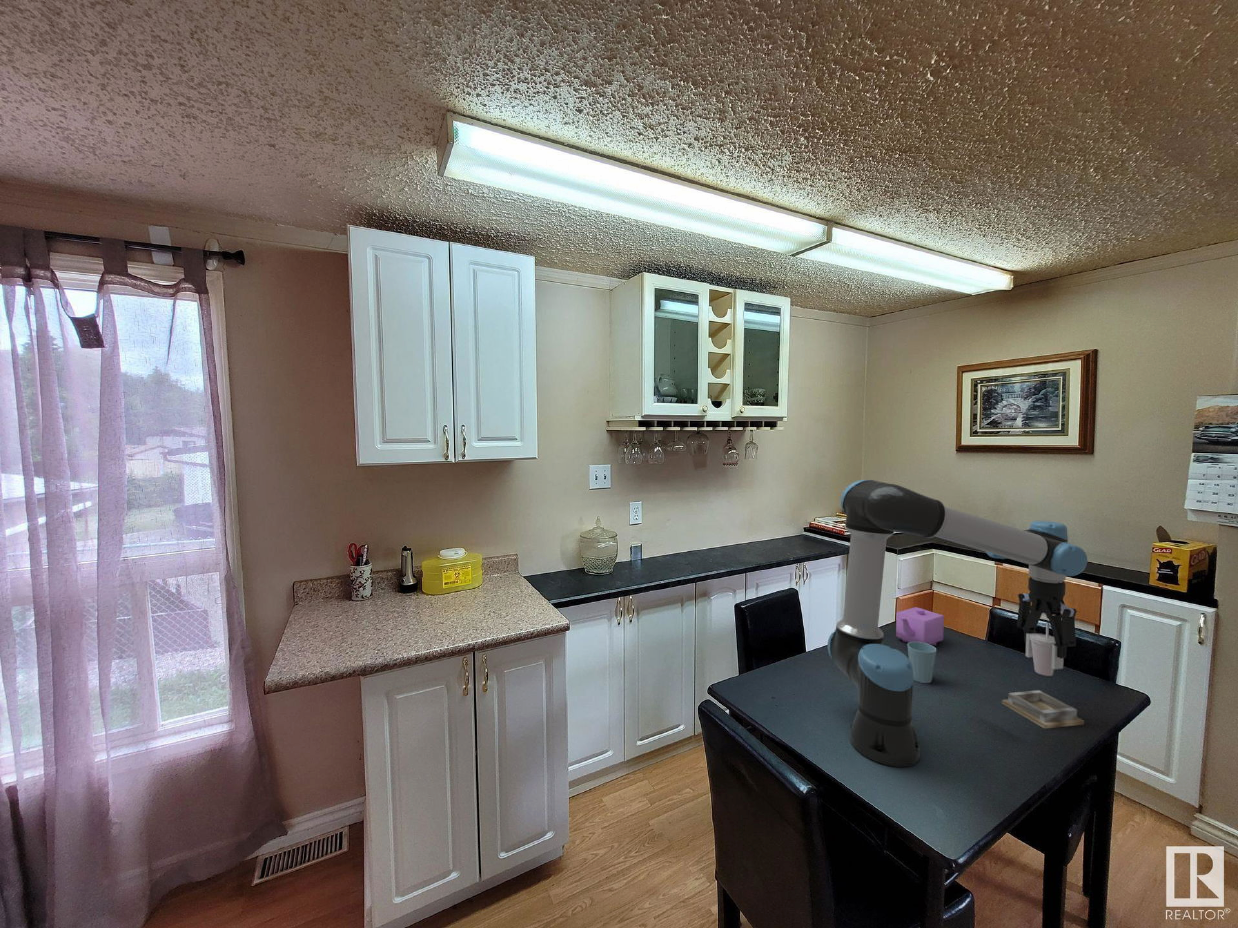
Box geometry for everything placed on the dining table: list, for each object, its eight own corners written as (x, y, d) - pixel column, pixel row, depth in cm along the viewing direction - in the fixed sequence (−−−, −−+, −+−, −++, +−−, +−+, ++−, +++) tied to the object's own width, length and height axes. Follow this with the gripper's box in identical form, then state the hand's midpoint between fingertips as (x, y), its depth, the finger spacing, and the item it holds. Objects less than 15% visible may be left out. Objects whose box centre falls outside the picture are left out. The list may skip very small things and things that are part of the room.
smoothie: (1048, 679, 127) (1050, 628, 126) (1022, 668, 133) (1024, 619, 132) (1065, 676, 129) (1067, 625, 128) (1038, 665, 135) (1040, 616, 134)
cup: (941, 681, 149) (942, 649, 148) (925, 687, 146) (925, 654, 145) (917, 671, 156) (918, 639, 155) (901, 676, 153) (902, 644, 152)
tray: (1044, 728, 125) (1045, 715, 125) (1001, 703, 137) (1002, 691, 137) (1083, 724, 127) (1084, 711, 126) (1038, 699, 138) (1038, 687, 138)
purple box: (919, 632, 186) (920, 601, 185) (947, 642, 177) (948, 609, 176) (886, 643, 177) (887, 610, 176) (913, 654, 168) (914, 619, 167)
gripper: (1098, 589, 120) (1095, 678, 122) (1024, 568, 140) (1021, 645, 141) (1073, 591, 119) (1069, 680, 121) (1001, 569, 139) (999, 647, 140)
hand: (1043, 661), depth 131 cm, fingers closed on smoothie, 6 cm apart
